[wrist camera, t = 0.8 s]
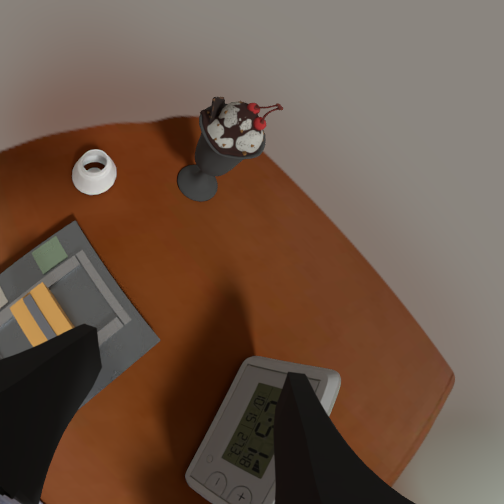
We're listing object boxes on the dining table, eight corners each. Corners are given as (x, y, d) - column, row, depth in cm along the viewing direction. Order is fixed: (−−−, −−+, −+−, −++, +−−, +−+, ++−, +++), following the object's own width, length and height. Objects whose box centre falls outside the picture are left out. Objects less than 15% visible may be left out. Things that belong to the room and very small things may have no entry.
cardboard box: (54, 361, 20) (44, 364, 16) (23, 314, 20) (8, 307, 16) (82, 338, 22) (78, 336, 18) (51, 292, 22) (42, 281, 18)
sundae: (231, 203, 35) (307, 127, 23) (178, 212, 32) (237, 123, 19) (214, 157, 36) (277, 73, 24) (164, 162, 33) (211, 64, 20)
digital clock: (249, 347, 31) (313, 342, 22) (302, 393, 32) (371, 399, 23) (155, 463, 22) (185, 513, 13) (222, 501, 23) (274, 546, 14)
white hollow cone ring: (73, 158, 27) (72, 198, 26) (72, 143, 25) (70, 184, 24) (114, 156, 30) (116, 194, 29) (117, 140, 28) (119, 180, 27)
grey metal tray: (36, 442, 17) (33, 447, 16) (-45, 319, 16) (-52, 316, 15) (158, 340, 27) (161, 340, 25) (76, 225, 26) (74, 217, 24)
